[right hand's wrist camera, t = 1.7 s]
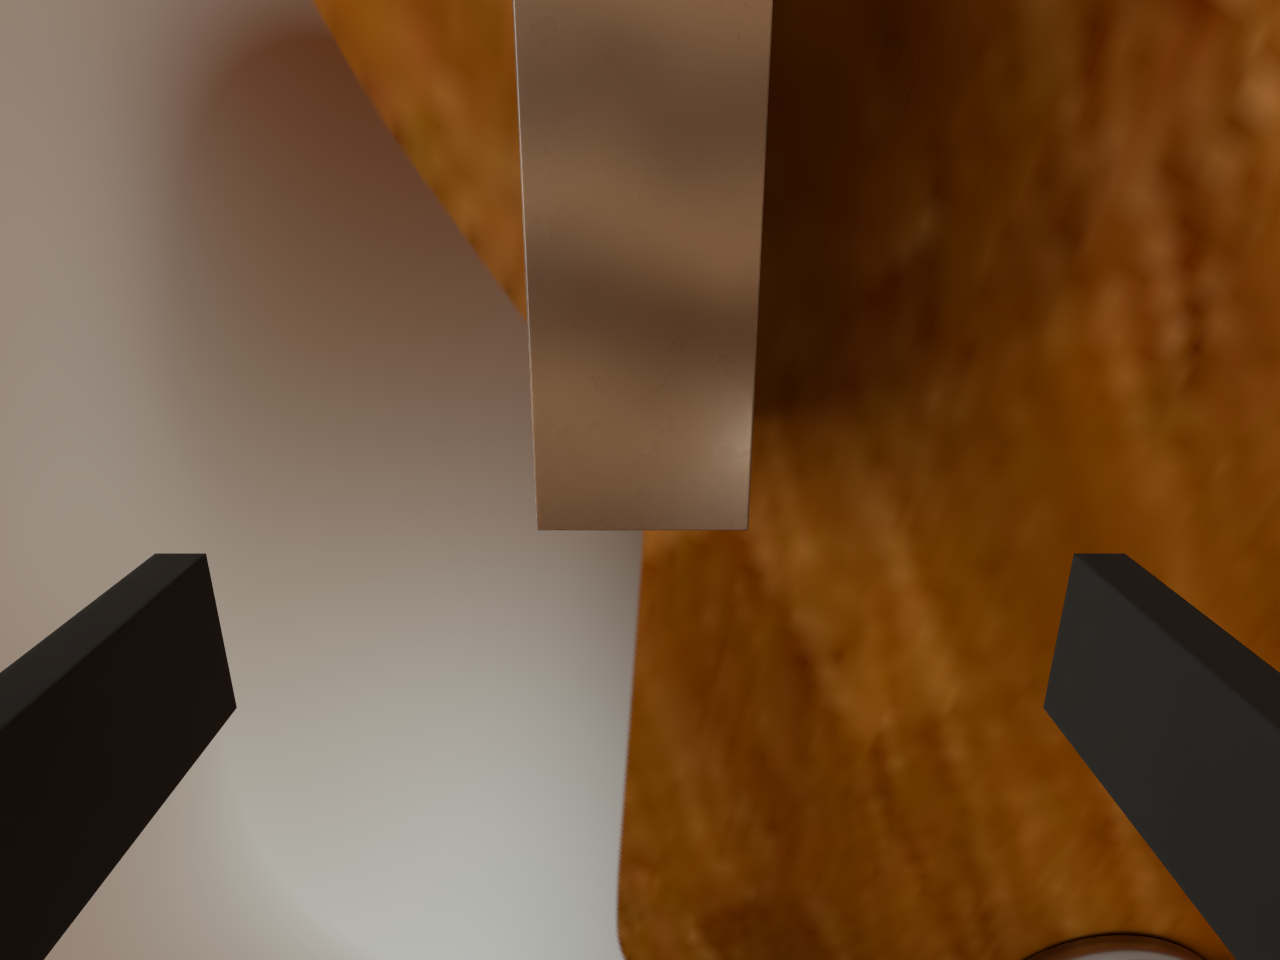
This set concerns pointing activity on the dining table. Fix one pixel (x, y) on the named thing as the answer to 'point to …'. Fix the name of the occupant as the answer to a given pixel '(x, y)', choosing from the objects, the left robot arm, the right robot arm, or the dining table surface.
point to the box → (642, 255)
